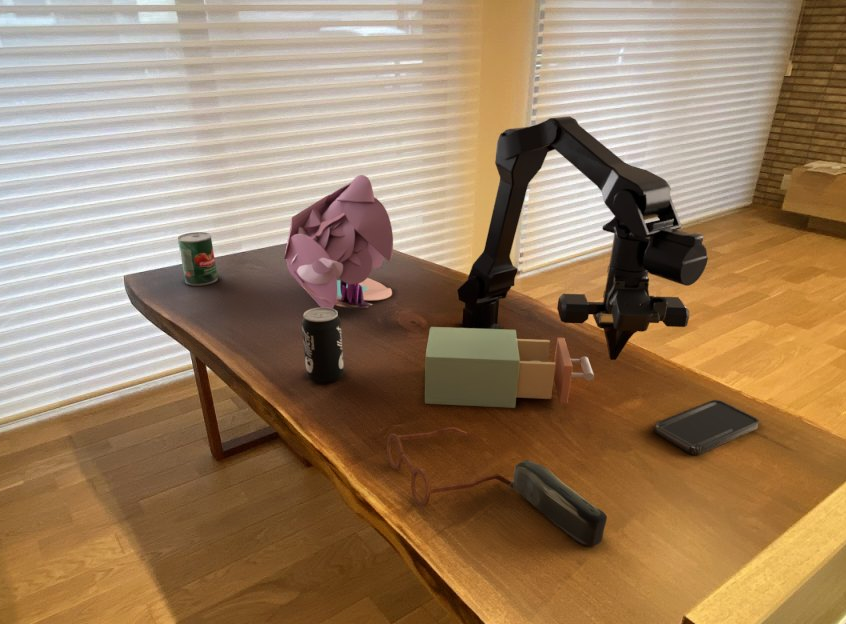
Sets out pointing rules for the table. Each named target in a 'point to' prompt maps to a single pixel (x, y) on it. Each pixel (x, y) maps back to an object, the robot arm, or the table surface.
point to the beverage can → (323, 345)
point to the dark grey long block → (559, 503)
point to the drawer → (547, 369)
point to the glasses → (419, 470)
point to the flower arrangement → (341, 246)
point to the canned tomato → (197, 258)
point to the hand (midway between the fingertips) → (612, 358)
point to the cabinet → (471, 367)
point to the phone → (706, 426)
